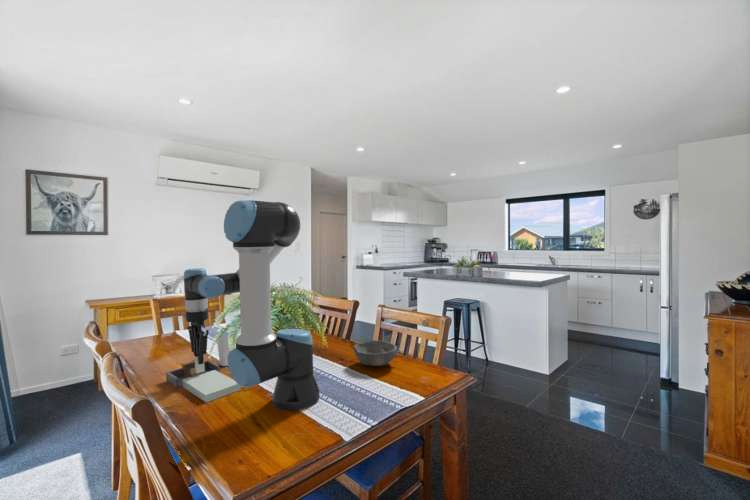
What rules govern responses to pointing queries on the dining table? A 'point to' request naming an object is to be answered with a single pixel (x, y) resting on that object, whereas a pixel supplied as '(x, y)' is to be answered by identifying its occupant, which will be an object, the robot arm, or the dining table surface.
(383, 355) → the bowl
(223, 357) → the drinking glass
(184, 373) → the tile
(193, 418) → the dining table surface
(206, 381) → the board
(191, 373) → the tile
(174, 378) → the tray
